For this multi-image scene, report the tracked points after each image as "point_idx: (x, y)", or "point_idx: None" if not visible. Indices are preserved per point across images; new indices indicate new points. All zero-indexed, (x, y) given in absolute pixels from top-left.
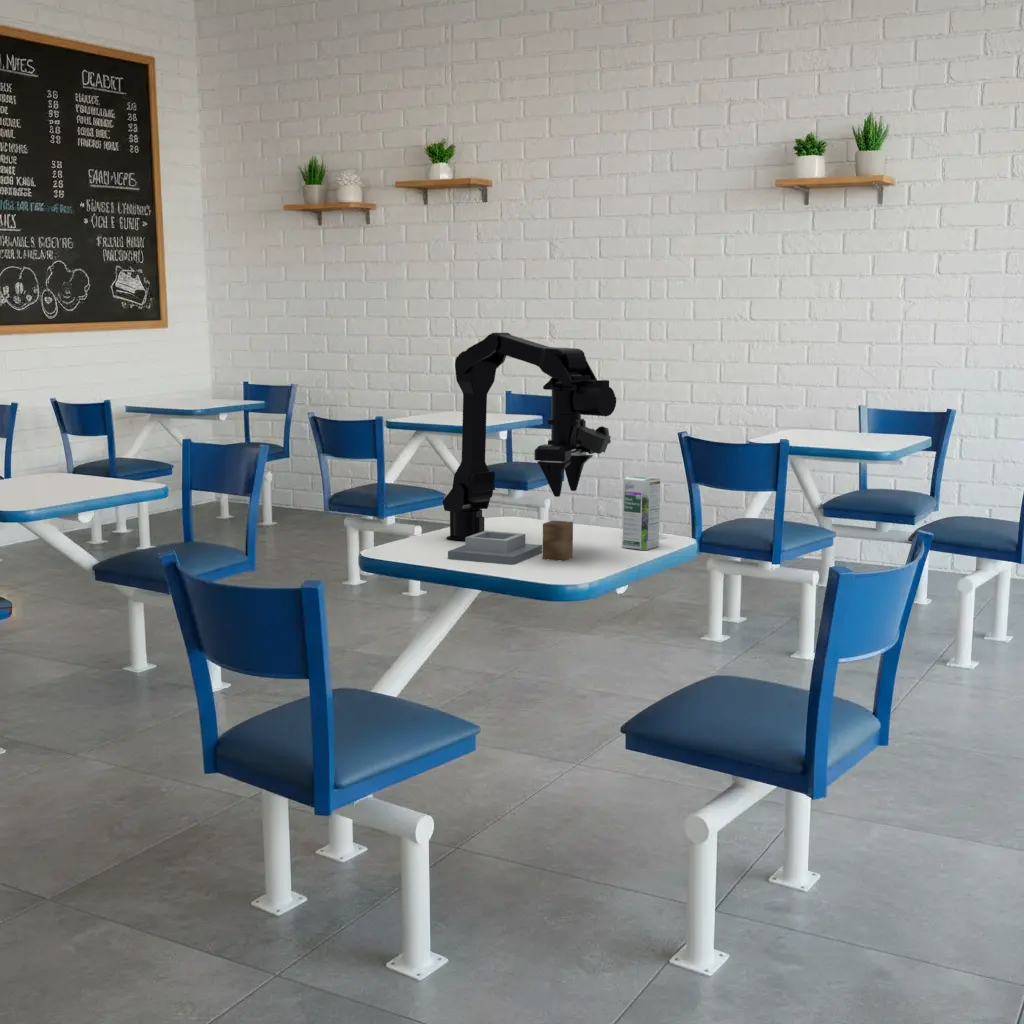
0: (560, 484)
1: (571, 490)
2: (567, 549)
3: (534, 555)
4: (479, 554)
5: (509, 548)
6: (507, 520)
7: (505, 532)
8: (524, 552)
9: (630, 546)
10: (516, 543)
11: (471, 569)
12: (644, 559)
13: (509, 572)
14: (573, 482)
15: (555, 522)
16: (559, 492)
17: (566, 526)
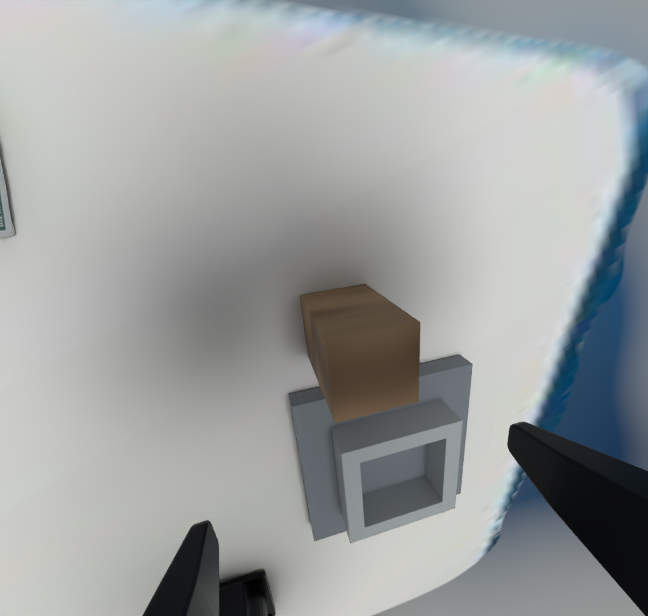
0: (639, 468)
1: (216, 541)
2: (350, 296)
3: None
4: (464, 435)
5: (432, 409)
6: None
7: (349, 499)
8: None
9: (2, 191)
10: (394, 424)
11: (526, 387)
12: (185, 30)
13: (534, 312)
14: (204, 611)
15: (372, 386)
16: (553, 434)
17: (393, 323)
